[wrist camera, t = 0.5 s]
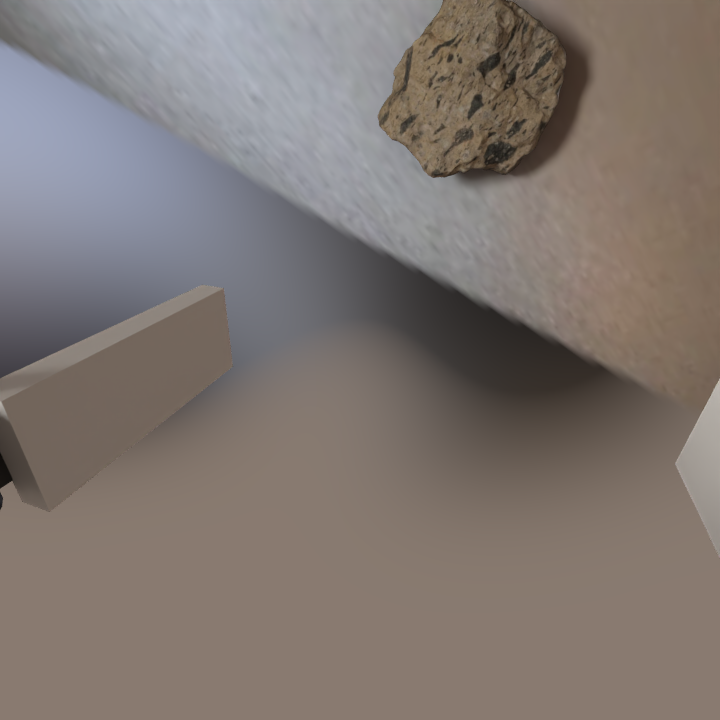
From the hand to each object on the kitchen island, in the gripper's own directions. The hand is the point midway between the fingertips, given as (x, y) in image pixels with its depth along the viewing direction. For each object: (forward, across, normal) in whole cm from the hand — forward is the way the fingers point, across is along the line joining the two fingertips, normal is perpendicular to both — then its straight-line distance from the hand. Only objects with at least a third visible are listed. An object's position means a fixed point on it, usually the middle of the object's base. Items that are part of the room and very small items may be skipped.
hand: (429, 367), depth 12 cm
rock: (+29, -3, +8) cm, 30 cm away
